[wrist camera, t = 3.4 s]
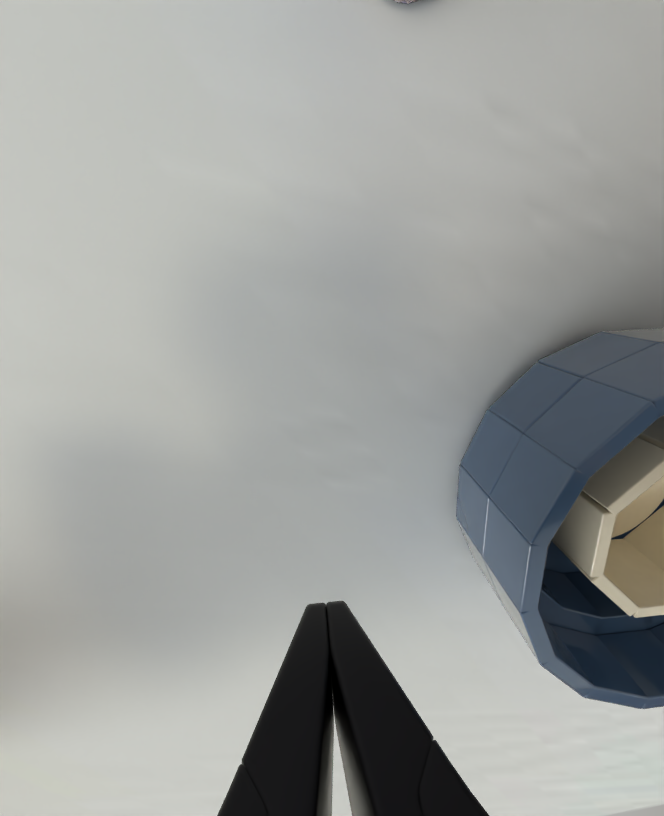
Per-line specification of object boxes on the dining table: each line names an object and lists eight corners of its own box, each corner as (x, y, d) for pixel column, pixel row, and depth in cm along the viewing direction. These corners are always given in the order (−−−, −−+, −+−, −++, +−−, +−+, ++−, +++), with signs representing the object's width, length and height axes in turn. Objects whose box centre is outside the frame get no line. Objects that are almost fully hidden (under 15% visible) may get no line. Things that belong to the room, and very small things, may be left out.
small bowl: (691, 400, 13) (816, 439, 10) (655, 536, 15) (752, 605, 12) (536, 411, 13) (615, 455, 10) (518, 549, 15) (580, 624, 11)
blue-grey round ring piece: (767, 319, 13) (1015, 340, 9) (688, 573, 17) (836, 685, 12) (460, 336, 12) (554, 370, 8) (444, 598, 16) (503, 727, 11)
